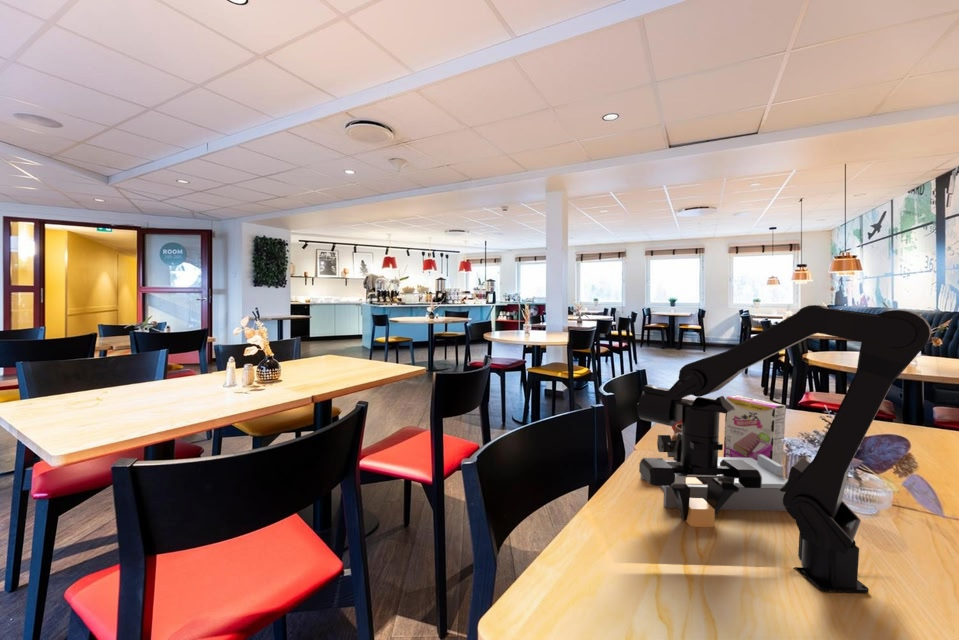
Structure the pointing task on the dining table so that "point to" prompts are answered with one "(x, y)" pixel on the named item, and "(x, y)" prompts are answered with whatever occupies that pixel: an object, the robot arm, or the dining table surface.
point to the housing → (737, 500)
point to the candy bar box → (754, 429)
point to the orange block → (693, 481)
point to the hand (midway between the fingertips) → (696, 519)
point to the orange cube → (700, 513)
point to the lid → (763, 471)
